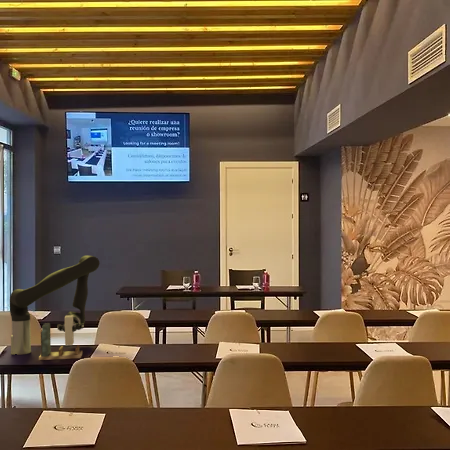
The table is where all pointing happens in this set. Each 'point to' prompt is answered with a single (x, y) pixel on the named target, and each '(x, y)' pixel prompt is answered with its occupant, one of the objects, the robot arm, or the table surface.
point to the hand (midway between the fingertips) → (68, 329)
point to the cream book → (69, 330)
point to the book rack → (46, 347)
